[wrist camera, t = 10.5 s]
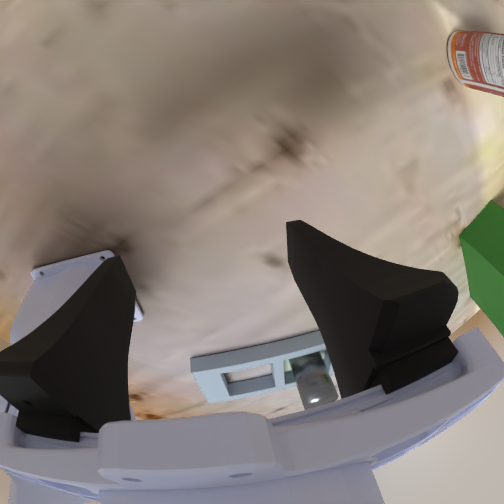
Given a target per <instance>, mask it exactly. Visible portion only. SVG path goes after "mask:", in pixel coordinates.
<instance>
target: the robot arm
mask: <svg viewBox="0 0 504 504" xmlns="http://www.w3.org/2000/svg"><path fill="white" fill-rule="evenodd" d="M286 230H287V249H288V263H289V266H290V269H291V272H292V274H293V277H294V280H295V282H296V284H297V286H298V288H299V290H300V292H301V293H302V295H303V297H304V299H305V301H306V303H307V305H308V307H309V309H310V311H311V313H312V314H313V316H314V318H315V320H316V323H317V325H318V327H319V330H320V332H321V335H322V338H323V341H324V343H325V346H326V349H327V352H328V355H329V358H330V361H331V364H332V367H333V370H334V374H335V377H336V380H337V384H338V387H339V391H340V395H341V398H342V399H340V400H337V401H334V402H331V403H328V404H324V405H321V406H318V407H314V408H311V409H307V410H304V411H300V412H296V413H292V414H288V415H284V416H280V417H276V418H271V419H267V418H266V417H265V416H263V415H261V414H256V413H249V412H243V411H242V412H227V413H216V414H208V415H201V416H192V417H182V418H171V419H157V420H136V418H135V414H134V411H133V409H132V407H131V405H130V404H129V395H128V353H129V346H130V339H131V333H132V327H133V322H137V321H141V320H143V314H142V312H141V310H140V308H139V306H138V304H137V302H136V291H135V289H134V286H133V284H132V282H131V280H130V278H129V275H128V273H127V271H126V269H125V266H124V264H123V262H122V259H121V257H120V255H119V256H115V255H114V253H113V252H112V251H110V250H106V251H101V252H97V253H93V254H89V255H85V256H81V257H77V258H73V259H69V260H65V261H62V262H58V263H54V264H50V265H46V266H43V267H39V268H35V269H33V270H32V271H31V276H32V278H33V280H34V283H33V284H32V286H31V288H30V290H29V292H28V293H27V295H26V297H25V299H24V301H23V303H22V305H21V307H20V308H19V310H18V312H17V314H16V316H15V318H14V321H13V323H12V326H11V331H10V345H9V347H7V348H6V349H4V350H2V351H1V352H0V468H2V469H3V470H4V471H5V472H6V473H7V475H8V476H9V477H10V478H11V485H10V491H9V500H8V504H85V503H88V502H91V501H98V502H101V504H385V503H384V501H383V498H382V496H381V493H380V490H379V487H378V485H377V483H376V480H375V477H374V474H373V472H372V470H373V469H375V468H378V467H380V466H382V465H384V464H386V463H388V462H391V461H393V460H394V459H396V458H398V457H400V456H402V455H404V454H406V453H408V452H409V451H411V450H413V449H415V448H417V447H418V446H420V445H422V444H424V443H425V442H427V441H428V440H430V439H432V438H433V437H435V436H437V435H438V434H440V433H441V432H443V431H444V430H446V429H447V428H448V427H450V426H452V425H453V424H455V423H456V422H458V421H459V420H460V419H462V418H463V417H465V416H466V415H467V414H469V413H470V412H471V411H473V410H474V409H475V408H477V407H478V406H479V405H480V404H481V403H482V402H483V401H484V400H485V399H486V398H487V397H488V396H490V394H492V392H493V391H494V390H495V389H496V388H497V387H498V386H499V385H500V384H501V383H502V382H503V381H504V362H503V361H502V360H501V358H500V357H499V355H498V354H497V352H496V351H495V350H494V348H493V347H492V346H491V344H490V343H489V341H488V340H487V339H486V337H485V336H484V335H483V334H482V332H481V331H480V330H479V328H478V327H475V328H473V329H471V330H470V331H468V332H466V333H464V334H463V335H461V336H459V337H458V338H457V339H456V340H455V341H454V342H453V343H452V342H451V340H450V339H449V337H448V336H450V334H451V332H450V330H449V329H448V327H447V326H446V325H447V323H448V321H449V319H450V317H451V315H452V313H453V310H454V308H455V306H456V303H457V300H458V289H457V287H456V286H455V285H454V284H453V283H452V281H451V280H450V279H449V278H448V277H447V276H446V275H445V274H444V273H443V272H439V271H431V270H424V269H417V268H413V267H408V266H403V265H399V264H395V263H392V262H388V261H385V260H382V259H379V258H376V257H373V256H370V255H368V254H365V253H363V252H360V251H358V250H356V249H353V248H351V247H349V246H347V245H345V244H343V243H341V242H339V241H337V240H335V239H333V238H332V237H330V236H328V235H326V234H324V233H323V232H321V231H319V230H317V229H316V228H314V227H312V226H311V225H309V224H307V223H305V222H303V221H301V220H296V221H291V222H286ZM101 256H103V257H105V259H103V258H102V257H101ZM41 271H42V272H43V273H42V272H41ZM134 317H135V318H134Z"/></svg>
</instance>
